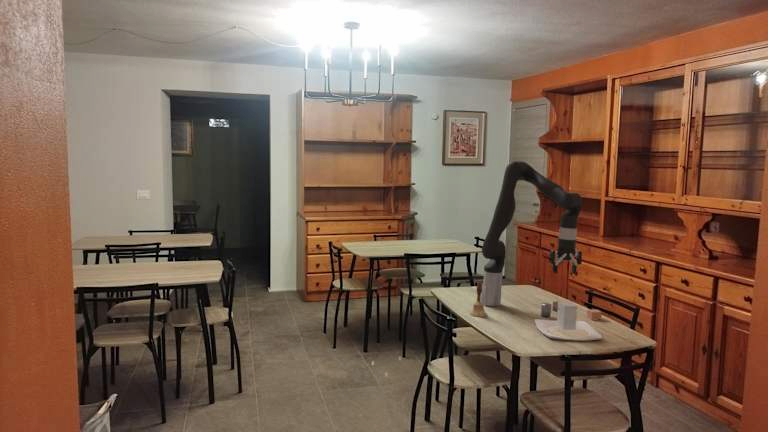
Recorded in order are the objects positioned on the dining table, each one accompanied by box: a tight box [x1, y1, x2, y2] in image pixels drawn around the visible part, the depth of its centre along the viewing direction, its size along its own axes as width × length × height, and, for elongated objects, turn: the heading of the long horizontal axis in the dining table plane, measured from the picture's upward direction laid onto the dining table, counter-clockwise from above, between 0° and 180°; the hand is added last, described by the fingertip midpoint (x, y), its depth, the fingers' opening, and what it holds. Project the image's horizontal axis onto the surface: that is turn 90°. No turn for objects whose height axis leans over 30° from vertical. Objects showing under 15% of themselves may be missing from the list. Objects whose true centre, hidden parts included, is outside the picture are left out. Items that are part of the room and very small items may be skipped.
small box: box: [556, 301, 578, 330], centre depth 224 cm, size 8×6×10 cm
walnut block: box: [552, 300, 562, 313], centre depth 256 cm, size 4×4×4 cm
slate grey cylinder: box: [540, 302, 552, 319], centre depth 247 cm, size 4×4×6 cm
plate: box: [534, 319, 603, 342], centre depth 224 cm, size 24×24×3 cm
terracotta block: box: [586, 309, 603, 321], centre depth 245 cm, size 5×4×4 cm
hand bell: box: [469, 281, 488, 318], centre depth 246 cm, size 8×8×16 cm
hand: (564, 273), depth 231 cm, fingers open, 8 cm apart
